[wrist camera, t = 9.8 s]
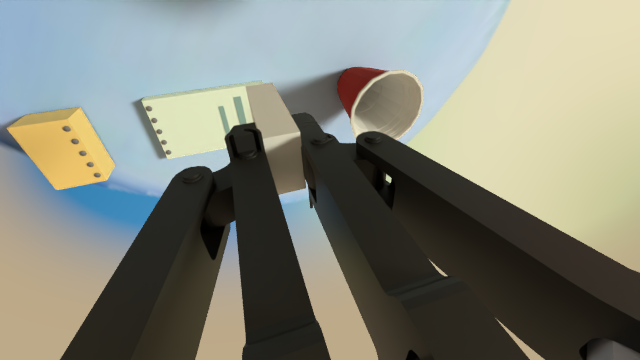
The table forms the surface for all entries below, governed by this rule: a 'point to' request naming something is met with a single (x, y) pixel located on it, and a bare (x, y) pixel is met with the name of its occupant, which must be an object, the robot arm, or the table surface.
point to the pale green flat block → (198, 117)
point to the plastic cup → (381, 100)
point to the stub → (63, 147)
